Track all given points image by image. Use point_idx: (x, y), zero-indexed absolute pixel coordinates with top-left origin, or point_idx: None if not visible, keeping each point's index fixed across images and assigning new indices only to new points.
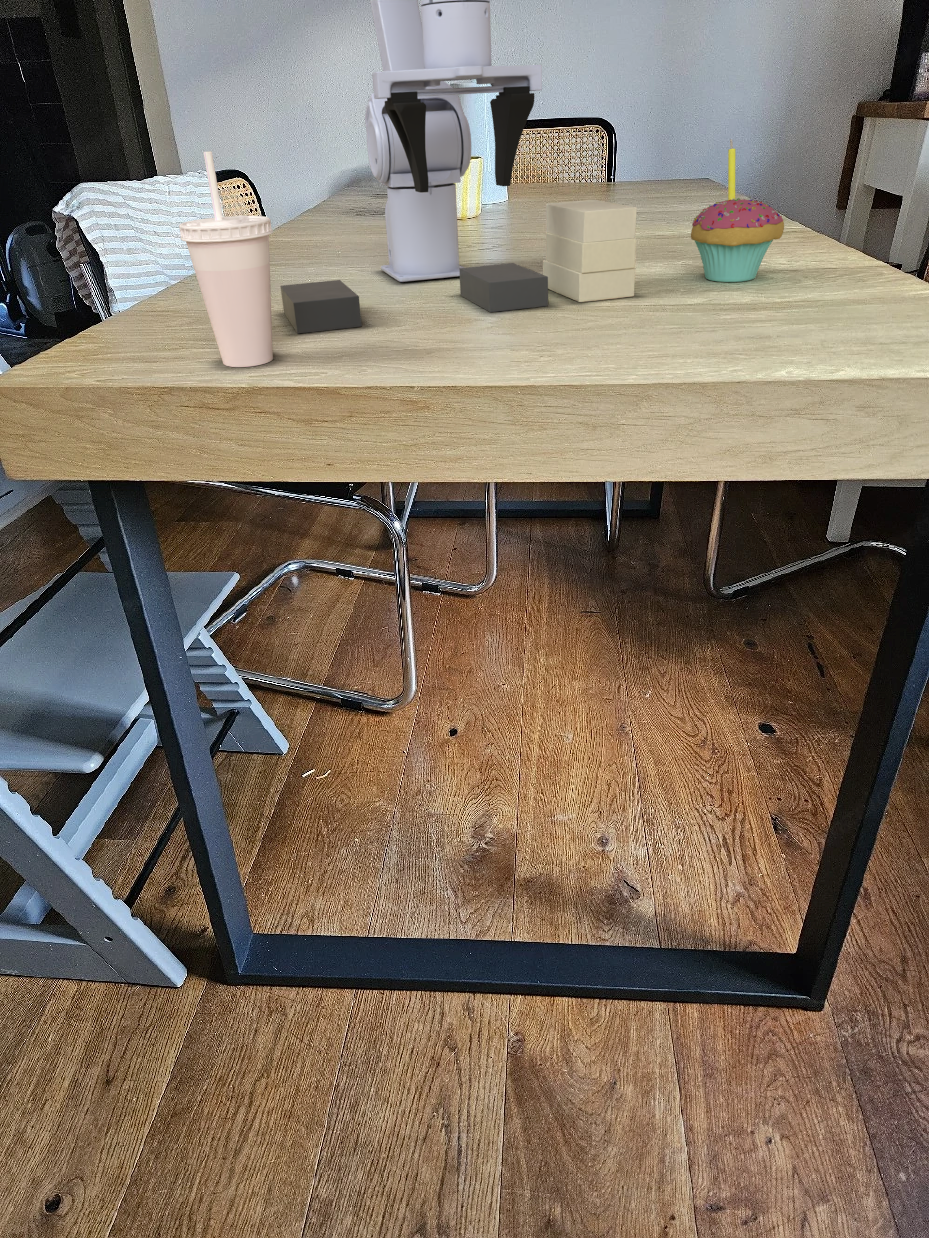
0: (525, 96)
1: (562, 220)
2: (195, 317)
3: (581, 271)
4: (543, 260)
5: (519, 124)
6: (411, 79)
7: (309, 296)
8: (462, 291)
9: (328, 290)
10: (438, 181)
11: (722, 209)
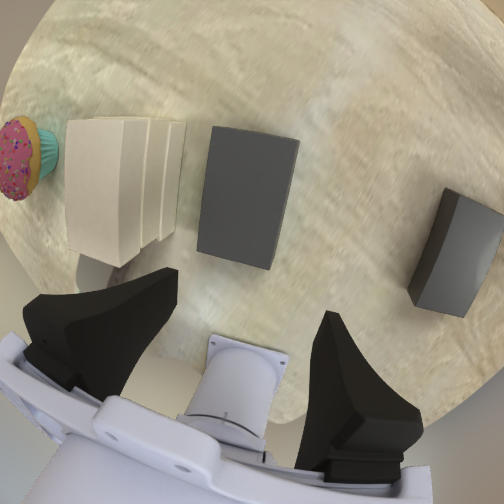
0: (39, 307)
1: (128, 200)
2: (488, 338)
3: (168, 120)
4: (160, 240)
5: (89, 298)
6: (362, 498)
7: (487, 236)
8: (275, 250)
9: (460, 254)
10: (210, 420)
11: (10, 153)
